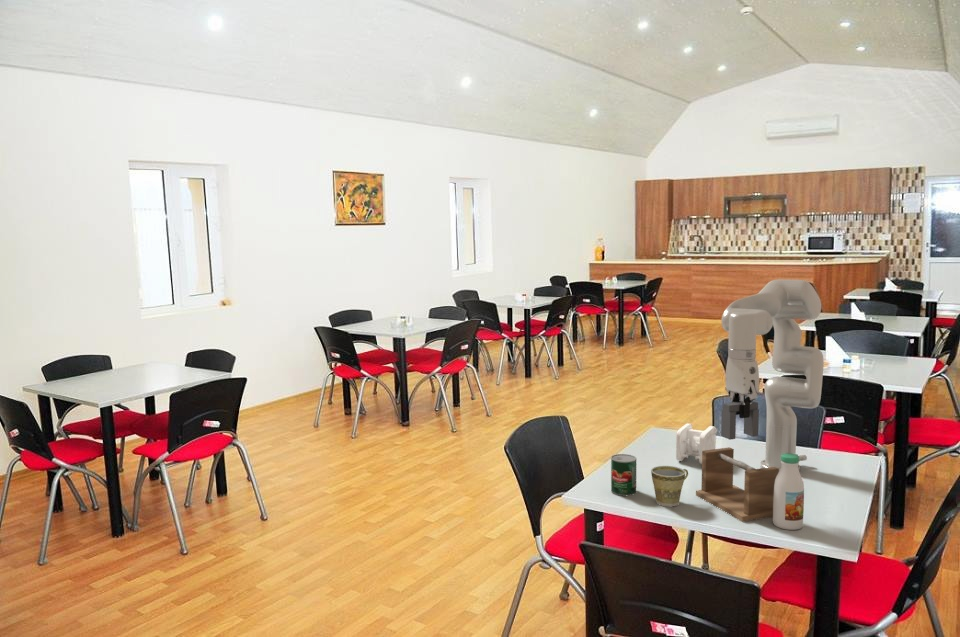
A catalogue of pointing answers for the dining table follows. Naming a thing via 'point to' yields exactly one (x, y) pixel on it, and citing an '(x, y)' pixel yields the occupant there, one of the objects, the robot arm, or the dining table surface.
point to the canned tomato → (623, 474)
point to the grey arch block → (730, 420)
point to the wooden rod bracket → (730, 497)
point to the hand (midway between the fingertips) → (740, 415)
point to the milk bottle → (788, 494)
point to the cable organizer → (694, 442)
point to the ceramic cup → (668, 484)
